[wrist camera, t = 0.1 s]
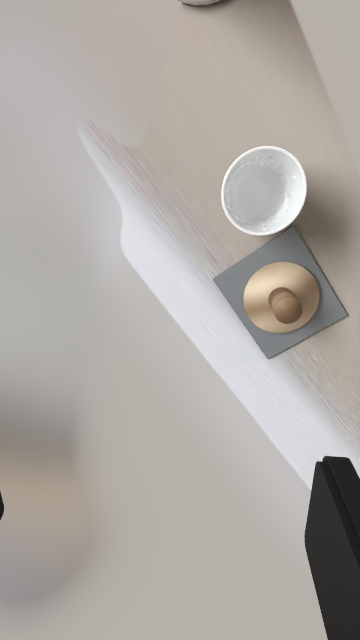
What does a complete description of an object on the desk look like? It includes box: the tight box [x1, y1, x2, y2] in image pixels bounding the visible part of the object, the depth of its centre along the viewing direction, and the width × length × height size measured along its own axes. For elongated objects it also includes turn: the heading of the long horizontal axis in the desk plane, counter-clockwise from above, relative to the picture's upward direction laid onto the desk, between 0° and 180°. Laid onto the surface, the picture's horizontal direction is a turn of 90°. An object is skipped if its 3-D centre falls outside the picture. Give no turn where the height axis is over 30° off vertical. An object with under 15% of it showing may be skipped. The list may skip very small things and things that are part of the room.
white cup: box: [221, 146, 307, 236], centre depth 36 cm, size 8×8×10 cm
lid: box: [243, 261, 319, 333], centre depth 42 cm, size 10×10×6 cm
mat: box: [213, 226, 347, 359], centre depth 44 cm, size 14×12×1 cm
